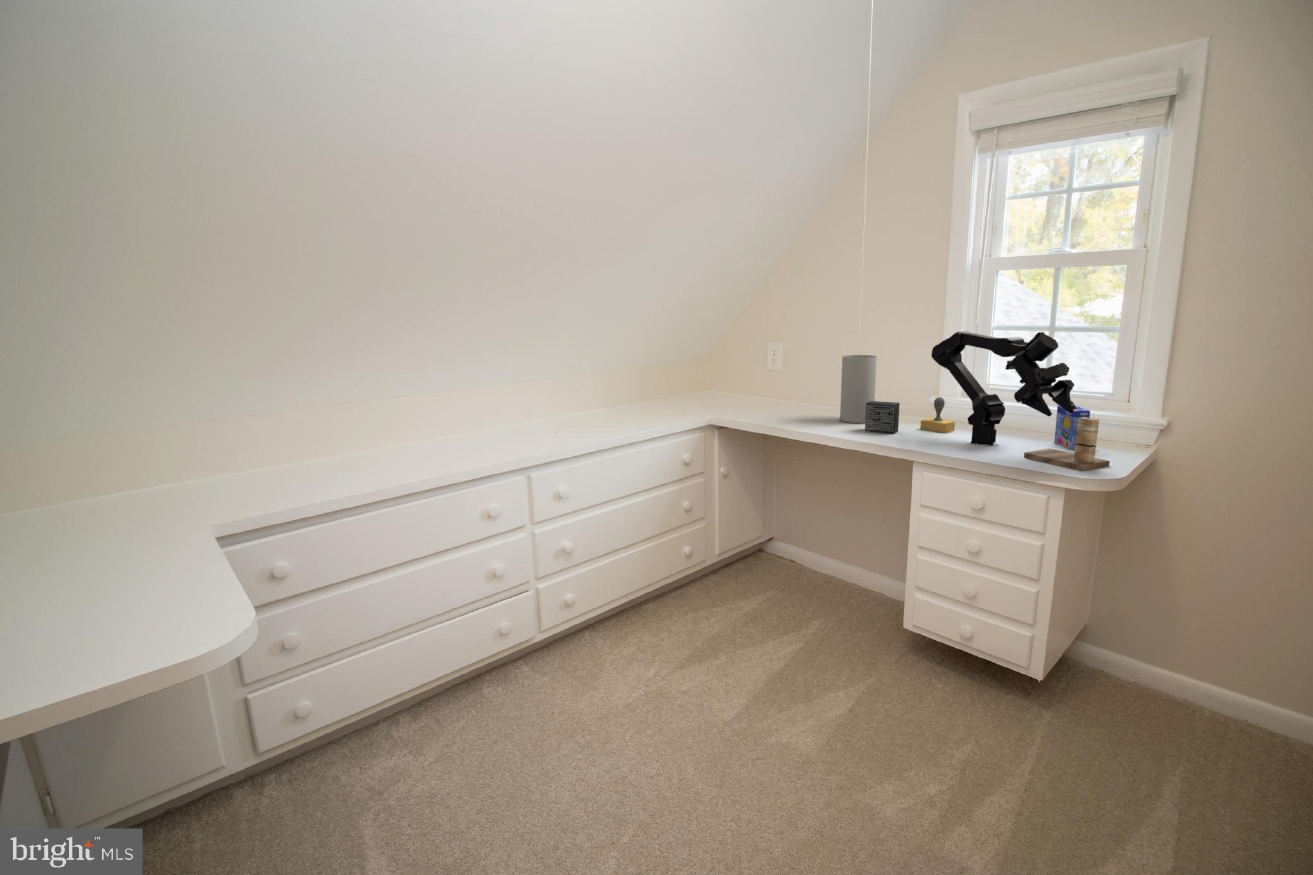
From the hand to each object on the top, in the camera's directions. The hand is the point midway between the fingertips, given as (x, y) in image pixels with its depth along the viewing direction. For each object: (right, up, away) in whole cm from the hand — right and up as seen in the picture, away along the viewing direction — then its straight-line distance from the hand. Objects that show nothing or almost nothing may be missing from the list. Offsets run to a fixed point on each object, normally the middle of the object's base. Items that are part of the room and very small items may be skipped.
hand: (1061, 414), depth 184 cm
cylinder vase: (-37, 0, +67) cm, 77 cm away
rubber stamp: (-15, -4, +47) cm, 50 cm away
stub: (+3, -8, -6) cm, 11 cm away
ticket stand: (+1, -14, 0) cm, 14 cm away
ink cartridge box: (+14, -10, +19) cm, 26 cm away
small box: (-35, -5, +47) cm, 59 cm away
